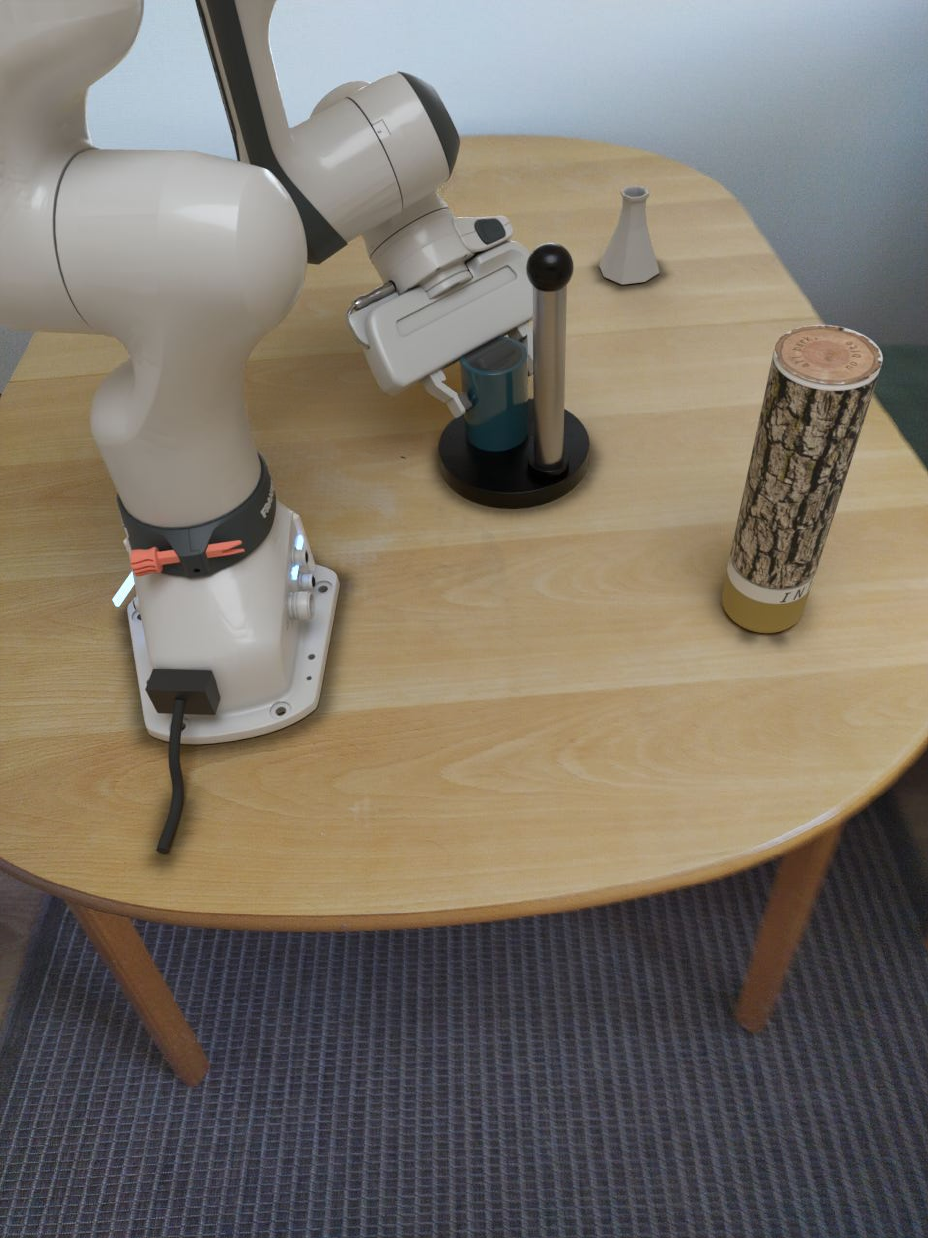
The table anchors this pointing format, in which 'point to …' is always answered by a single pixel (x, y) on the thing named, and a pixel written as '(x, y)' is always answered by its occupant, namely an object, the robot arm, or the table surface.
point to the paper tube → (797, 471)
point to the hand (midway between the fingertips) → (499, 393)
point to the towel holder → (529, 412)
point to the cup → (496, 394)
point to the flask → (630, 242)
